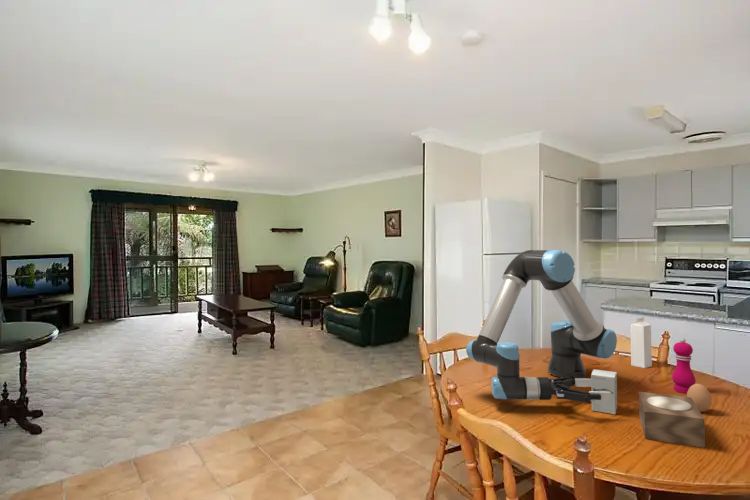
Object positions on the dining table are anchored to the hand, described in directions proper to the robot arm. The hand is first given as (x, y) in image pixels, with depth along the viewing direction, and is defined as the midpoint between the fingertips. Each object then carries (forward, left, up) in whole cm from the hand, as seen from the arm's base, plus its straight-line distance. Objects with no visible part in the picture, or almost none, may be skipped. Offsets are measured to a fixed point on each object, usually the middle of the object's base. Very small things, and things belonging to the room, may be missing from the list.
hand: (602, 389), depth 146 cm
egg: (+28, +11, -7) cm, 31 cm away
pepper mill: (+27, +32, -7) cm, 43 cm away
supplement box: (0, +1, -7) cm, 7 cm away
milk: (+16, +64, -7) cm, 66 cm away
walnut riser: (+17, -10, -7) cm, 22 cm away
